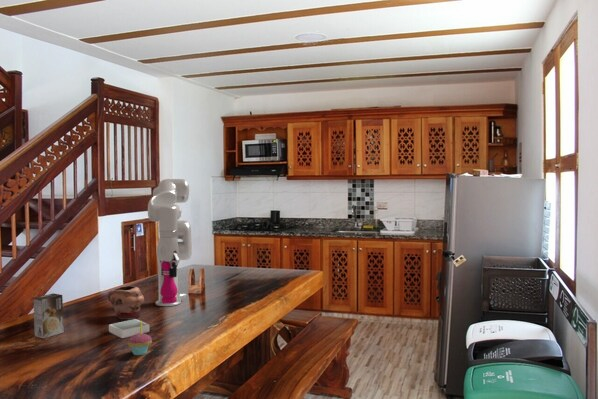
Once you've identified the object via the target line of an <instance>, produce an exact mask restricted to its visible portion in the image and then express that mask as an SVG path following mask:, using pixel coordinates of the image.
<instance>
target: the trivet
mask: <svg viewBox="0 0 598 399" xmlns="http://www.w3.org/2000/svg"><path fill="white" fill-rule="evenodd" d="M140 322H142V334H147V333H149V332H150V324H149V323H147V322H144V321H142V320H139V319H137V318H134V319H128V320H124V321H121V322H114V323H111V324H108V332H109V333H111V334H113V335H115V336H116V337H118V338H121V339H124V338H130V337H132V336H133V335H135V334H140Z"/></svg>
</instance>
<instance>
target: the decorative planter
mask: <svg viewBox="0 0 598 399" xmlns="http://www.w3.org/2000/svg"><path fill="white" fill-rule="evenodd" d="M107 299H108V301H109V303H110V304H111V305H112V307H113V309H114V311H115V314H116V318H118V319H120V320H133V319H137V318H138V317H141V305H142V304H143V303H144V302H145V297H144V295H143V293H142V291H141V289H140V288H139V287H137V286H131V285H130V286H129V285H126V286H121V287H116V288H114V289H112V290H110V291H109V292H108V293H107Z"/></svg>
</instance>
